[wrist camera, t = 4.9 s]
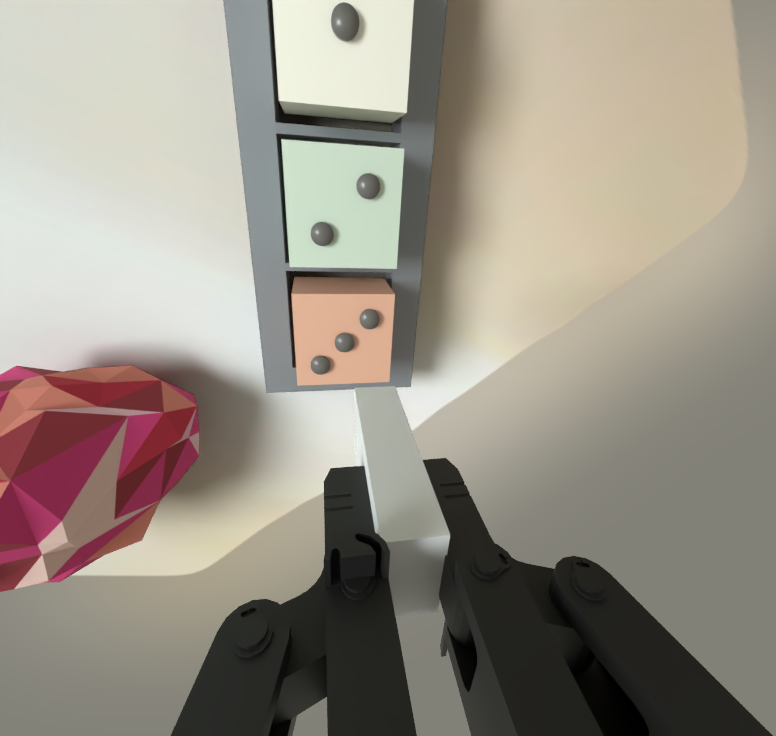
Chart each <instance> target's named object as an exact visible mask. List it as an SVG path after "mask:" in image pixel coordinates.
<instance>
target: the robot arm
mask: <svg viewBox="0 0 776 736" xmlns="http://www.w3.org/2000/svg"><path fill="white" fill-rule="evenodd" d="M354 448H355V456H356V463H357V466H355V467H342V468H331V469H330V471H329V473H328V475H327V477H326V479H325V481H324V510H325V511H324V514H325V556H324V569H323V571H322V574H321V576H320V577H319V579H318V580H317V582H316V583H315V584H314V585H313V586H312V587H311V588H310V589H309V590H308V591H306V592H304V593H303V594H301V595H299V596H298V597H296V598H294V599H291V600H289V601H287V602H285V603H283V604H281V605H280V604H278V603H277V602H274V601H271V600H267V599H261V600H252V601H250V602H248V603H246V604H243V605H241V606H239V607H238V608H237V609H236V610H234V611H233V612H232V613H231V614H230V615H229V616H228V617H227V618H226V619H225V621H224V622H223V624H222V625H221V627H220V628H219V630H218V632H217V634H216V636H215V638H214V641H213V643H212V645H211V647H210V649H209V652H208V654H207V656H206V658H205V661H204V663H203V665H202V667H201V670H200V672H199V674H198V676H197V678H196V681H195V683H194V685H193V688H192V690H191V692H190V694H189V696H188V698H187V701H186V703H185V705H184V707H183V710H182V712H181V714H180V716H179V718H178V721H177V723H176V726H175V727H174V730H173V732H172V734H171V736H292V734H293V730H294V726H295V721H296V716H297V715H298V714H299V713H301V712H303V711H305V710H306V709H307V708H309V707H311V706H312V705H314V704H316V703H317V702H319V701H320V700H322V699H324V698H325V697H327V716H328V736H417V735H416V729H415V724H414V718H413V712H412V707H411V701H410V696H409V690H408V684H407V679H406V673H405V668H404V662H403V657H402V651H401V645H400V640H399V634H398V629H397V623H396V618H400V617H407V616H414V615H420V614H426V613H433V612H438V606H439V600H440V601H441V604H442V608H443V611H444V615H445V623H444V629H443V635H442V640H441V645H440V646H441V656H446V652H447V648H448V652H449V655H450V659H451V663H452V666H453V670H454V674H455V677H456V681H457V685H458V688H459V692H460V696H461V699H462V703H463V706H464V710H465V714H466V718H467V721H468V725H469V729H470V732H471V736H772V734H770V733H769V731H767V730H766V729H765V728H764V727H763V726H762V725H761V724H760V723H759V722H758V721H757V720H756V719H755V718H754V717H753V716H752V715H751V714H750V713H749V712H748V711H747V710H746V709H745V708H744V707H743V706H742V705H741V704H740V703H739V702H738V701H737V700H736V699H735V698H734V697H733V696H732V695H731V694H730V693H729V692H728V691H727V690H726V689H725V688H724V687H723V686H722V685H721V684H720V683H719V682H718V681H717V680H716V679H715V678H714V677H713V676H712V675H711V674H710V673H709V672H708V671H707V670H706V669H705V668H704V667H703V666H702V665H701V664H700V663H699V662H698V661H697V660H696V659H695V658H694V657H693V656H692V655H691V654H690V653H689V652H688V651H687V650H686V649H685V648H684V647H683V646H682V645H681V644H680V643H679V642H678V641H677V640H676V639H675V638H674V637H673V636H672V635H671V634H670V633H669V632H668V631H667V630H666V629H665V628H664V627H663V626H662V625H661V624H660V623H659V622H658V621H657V620H656V619H655V618H654V617H653V616H651V614H650V613H649V612H648V611H647V610H646V609H645V608H644V607H643V606H642V605H641V604H640V603H639V602H638V601H637V600H636V599H635V598H634V597H633V596H632V595H631V594H630V593H629V592H628V591H627V590H626V589H625V588H624V587H623V586H622V585H621V584H619V582H618V581H617V580H616V579H615V578H614V577H613V576H612V575H611V574H610V573H608V572H607V571H606V570H605V569H603V568H602V567H601V566H600V565H598V564H596V563H594V562H592V561H590V560H588V559H586V558H581V557H576V556H571V557H565V558H563V559H561V560H560V561H559V562H558V563H557V564H556V567H555V569H552V568H547V567H541V566H536V565H531V564H526V563H523V562H519V561H517V560H515V559H513V558H511V556H510V555H509V553H508V552H507V551H505V550H504V549H503V548H501V547H500V546H499V545H497V544H495V543H494V542H493V540H492V538H491V537H490V535H489V533H488V530H487V528H486V527H485V524H484V522H483V520H482V518H481V516H480V514H479V512H478V510H477V508H476V506H475V504H474V502H473V499H472V498H471V496H470V495H469V491H468V489H467V487H466V485H464V481H463V479H462V477H461V475H460V473H459V471H458V469H457V468H456V467H455V466H454V465H453V464H452V463H450V461H448V460H447V459H446V458H441V459H429V460H422V457H421V455H420V452H419V449H418V447H417V444H416V441H415V439H414V436H413V433H412V431H411V428H410V425H409V423H408V420H407V417H406V414H405V412H404V409H403V406H402V404H401V401H400V398H399V396H398V393H397V390H396V388H395V386H388V387H365V388H355V412H354Z"/></svg>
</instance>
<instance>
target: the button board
mask: <svg viewBox="0 0 776 736" xmlns="http://www.w3.org/2000/svg"><path fill="white" fill-rule="evenodd" d="M223 1H224V10H225V19H226V29H227V38H228V47H229V56H230V65H231V74H232V83H233V92H234V102H235V111H236V120H237V129H238V138H239V147H240V156H241V165H242V174H243V184H244V193H245V202H246V211H247V220H248V229H249V238H250V247H251V256H252V266H253V275H254V284H255V293H256V302H257V311H258V320H259V329H260V339H261V348H262V357H263V366H264V375H265V384H266V393H275V392H298V391H322V390H345V389H355V388H365V387H388V386H395V387H411V377H412V367H413V356H414V346H415V335H416V324H417V314H418V303H419V293H420V282H421V272H422V261H423V251H424V240H425V230H426V219H427V208H428V198H429V187H430V177H431V166H432V156H433V145H434V135H435V124H436V114H437V103H438V92H439V82H440V71H441V61H442V50H443V40H444V29H445V19H446V8H447V0H414V7H413V23H412V38H411V54H410V69H409V85H408V100H407V113H406V114H404V115H403V116H401V117H400V118H398V119H397V120H395V121H394V122H392V132H383V131H371V130H359V129H348V128H336V127H324V126H312V125H300V124H289V123H279V110H278V95H277V79H276V64H275V49H274V34H273V19H272V4H271V0H223ZM280 138H287V139H300V140H313V141H326V142H339V143H352V144H364V145H377V146H390V147H391V148H402V149H404V162H403V178H402V193H401V209H400V224H399V240H398V256H397V269H375V268H316V267H290V264H289V254H288V246H287V231H286V216H285V201H284V186H283V170H282V155H281V140H280ZM289 271H328V272H385V278H384V279H385V280H386V282H387V283H388V285H389V286H390V288H391V289H392V291H393V292H394V294H395V302H394V318H393V333H392V349H391V364H390V380H389V382H377V383H352V384H327V385H302V386H297V372H296V357H295V351H294V337H293V322H292V307H291V292H290V277H289Z"/></svg>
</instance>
